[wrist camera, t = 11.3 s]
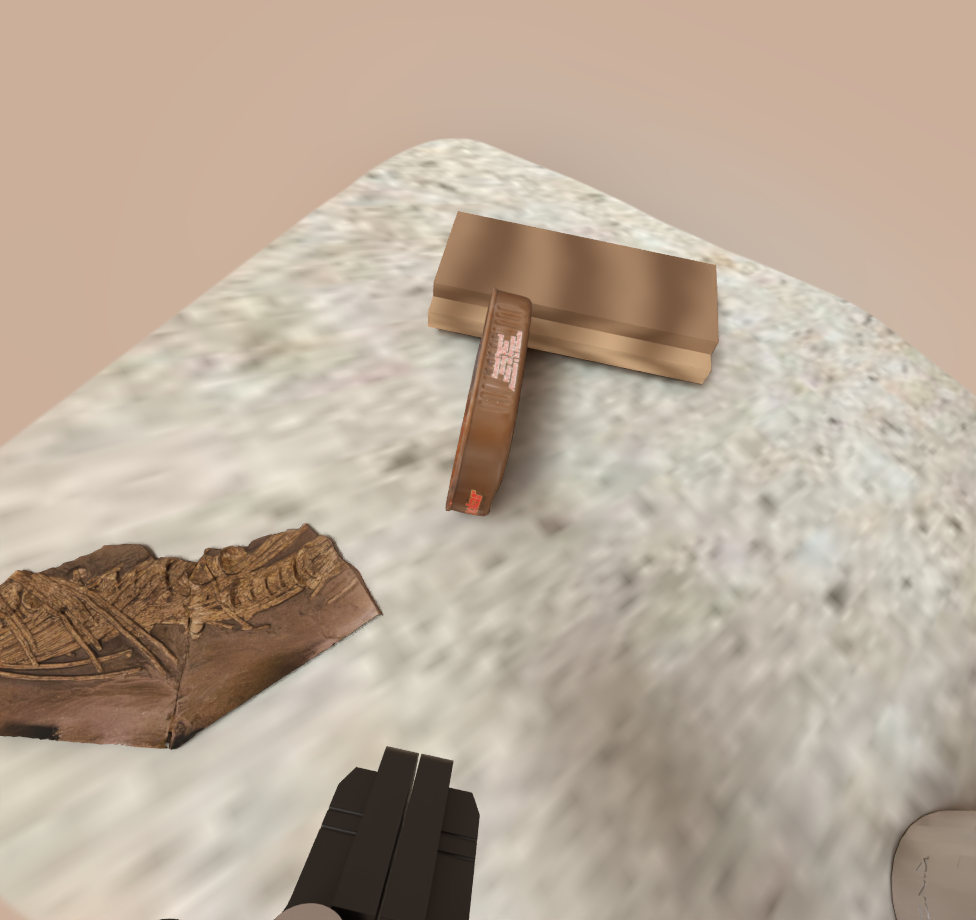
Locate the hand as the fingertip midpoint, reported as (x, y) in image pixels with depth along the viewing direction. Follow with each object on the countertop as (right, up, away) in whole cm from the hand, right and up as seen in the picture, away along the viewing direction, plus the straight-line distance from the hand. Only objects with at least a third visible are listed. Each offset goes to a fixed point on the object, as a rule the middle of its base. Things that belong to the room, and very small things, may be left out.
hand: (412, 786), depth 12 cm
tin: (+1, +9, +26) cm, 28 cm away
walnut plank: (+8, +19, +33) cm, 38 cm away
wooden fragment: (-17, -3, +18) cm, 25 cm away
